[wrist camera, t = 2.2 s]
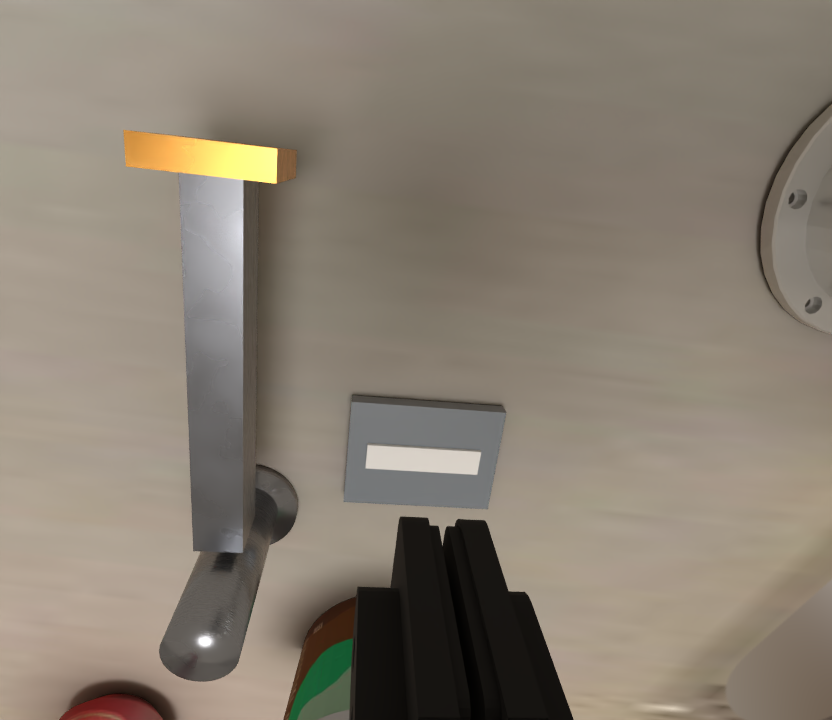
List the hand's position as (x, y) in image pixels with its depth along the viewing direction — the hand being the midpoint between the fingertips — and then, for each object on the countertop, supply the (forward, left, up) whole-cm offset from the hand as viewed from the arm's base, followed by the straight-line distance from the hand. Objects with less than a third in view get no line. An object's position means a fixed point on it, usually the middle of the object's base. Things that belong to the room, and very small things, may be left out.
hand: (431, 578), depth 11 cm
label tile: (-2, +7, -17) cm, 19 cm away
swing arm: (+7, 0, -14) cm, 15 cm away
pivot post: (+7, +11, -17) cm, 21 cm away
